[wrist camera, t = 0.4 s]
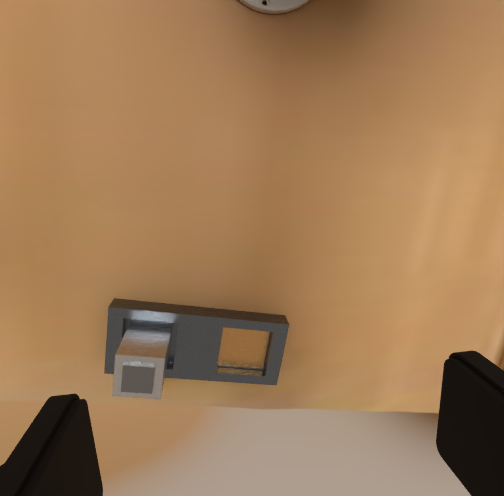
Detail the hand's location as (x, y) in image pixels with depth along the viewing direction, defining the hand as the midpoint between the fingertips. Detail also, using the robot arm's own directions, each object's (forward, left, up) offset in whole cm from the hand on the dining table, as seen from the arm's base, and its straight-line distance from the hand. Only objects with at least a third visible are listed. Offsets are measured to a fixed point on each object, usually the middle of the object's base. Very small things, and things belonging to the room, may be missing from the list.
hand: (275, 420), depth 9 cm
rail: (+18, -1, -35) cm, 39 cm away
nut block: (+18, -7, -34) cm, 39 cm away
